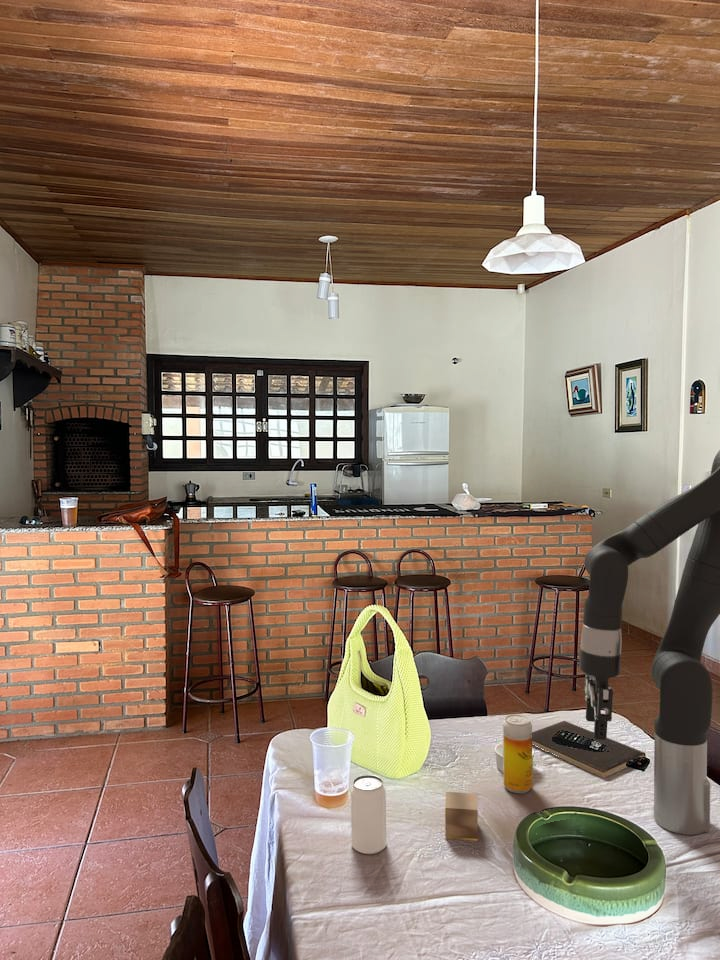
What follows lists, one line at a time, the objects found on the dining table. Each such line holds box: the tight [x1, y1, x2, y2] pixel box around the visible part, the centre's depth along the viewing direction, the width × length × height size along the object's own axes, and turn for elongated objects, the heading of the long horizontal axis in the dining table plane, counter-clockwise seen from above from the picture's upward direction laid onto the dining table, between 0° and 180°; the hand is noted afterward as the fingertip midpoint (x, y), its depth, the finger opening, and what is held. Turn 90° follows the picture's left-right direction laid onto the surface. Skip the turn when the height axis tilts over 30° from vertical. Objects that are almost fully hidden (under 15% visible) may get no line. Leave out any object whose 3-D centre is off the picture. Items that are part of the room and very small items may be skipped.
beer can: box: [502, 714, 533, 794], centre depth 147 cm, size 6×6×15 cm
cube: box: [444, 791, 479, 842], centre depth 131 cm, size 6×6×6 cm
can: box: [350, 774, 387, 856], centre depth 126 cm, size 6×6×12 cm
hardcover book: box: [532, 720, 647, 779], centre depth 164 cm, size 16×23×2 cm
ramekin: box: [494, 742, 535, 773], centre depth 156 cm, size 9×9×4 cm
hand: (595, 729), depth 134 cm, fingers open, 8 cm apart
